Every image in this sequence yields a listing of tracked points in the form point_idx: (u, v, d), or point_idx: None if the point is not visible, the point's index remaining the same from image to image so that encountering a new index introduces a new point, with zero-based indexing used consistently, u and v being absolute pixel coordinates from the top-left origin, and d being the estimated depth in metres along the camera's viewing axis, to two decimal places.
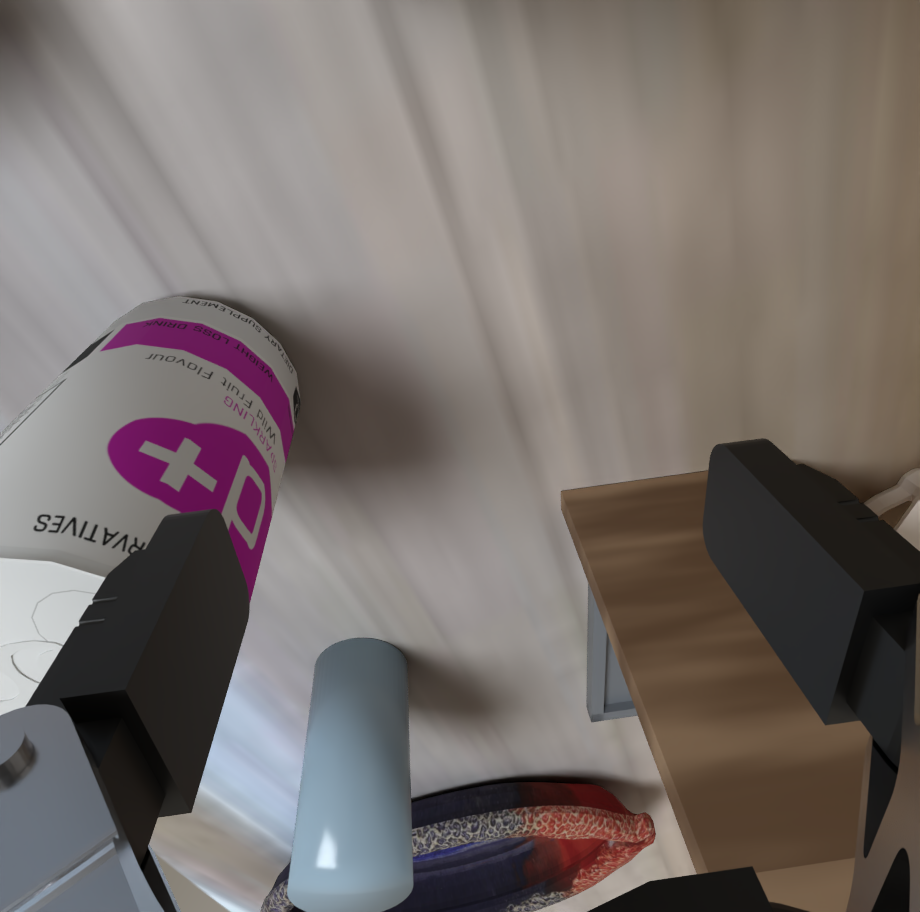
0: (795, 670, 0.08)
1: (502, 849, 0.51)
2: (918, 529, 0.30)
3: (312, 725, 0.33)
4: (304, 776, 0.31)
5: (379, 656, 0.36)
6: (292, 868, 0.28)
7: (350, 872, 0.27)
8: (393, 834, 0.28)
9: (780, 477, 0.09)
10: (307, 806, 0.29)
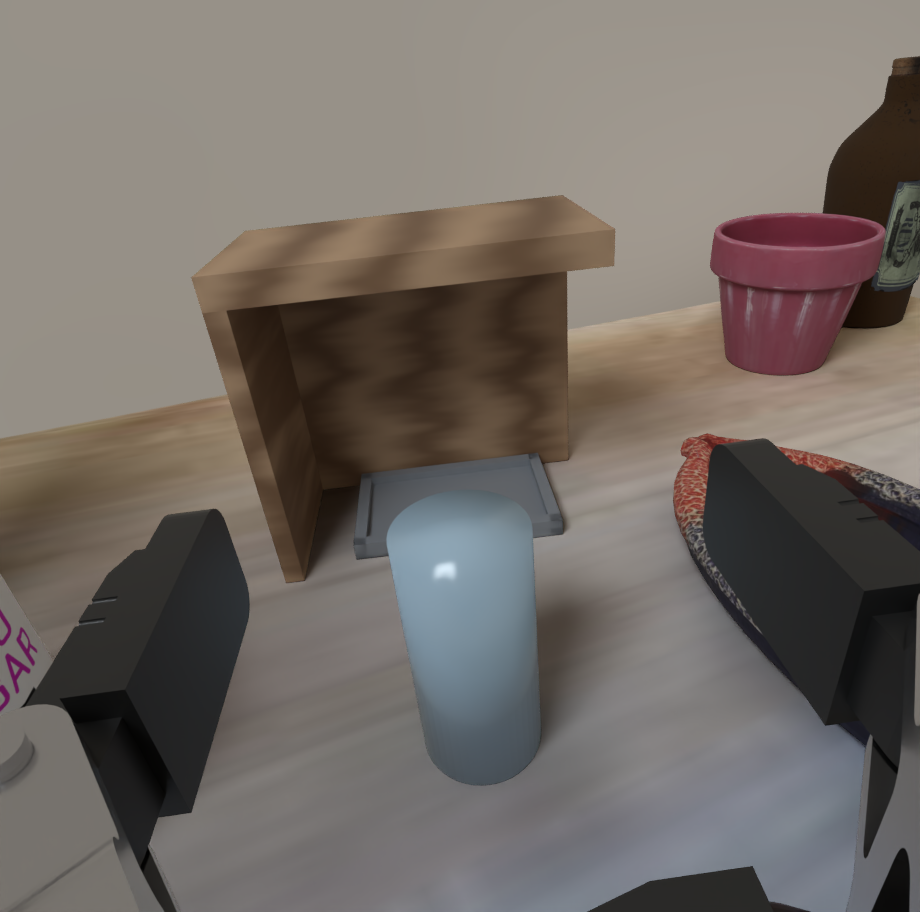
0: (795, 669, 0.08)
1: None
2: None
3: (434, 706, 0.26)
4: (432, 665, 0.24)
5: None
6: (421, 586, 0.22)
7: (418, 530, 0.24)
8: None
9: (780, 477, 0.09)
10: (412, 624, 0.24)
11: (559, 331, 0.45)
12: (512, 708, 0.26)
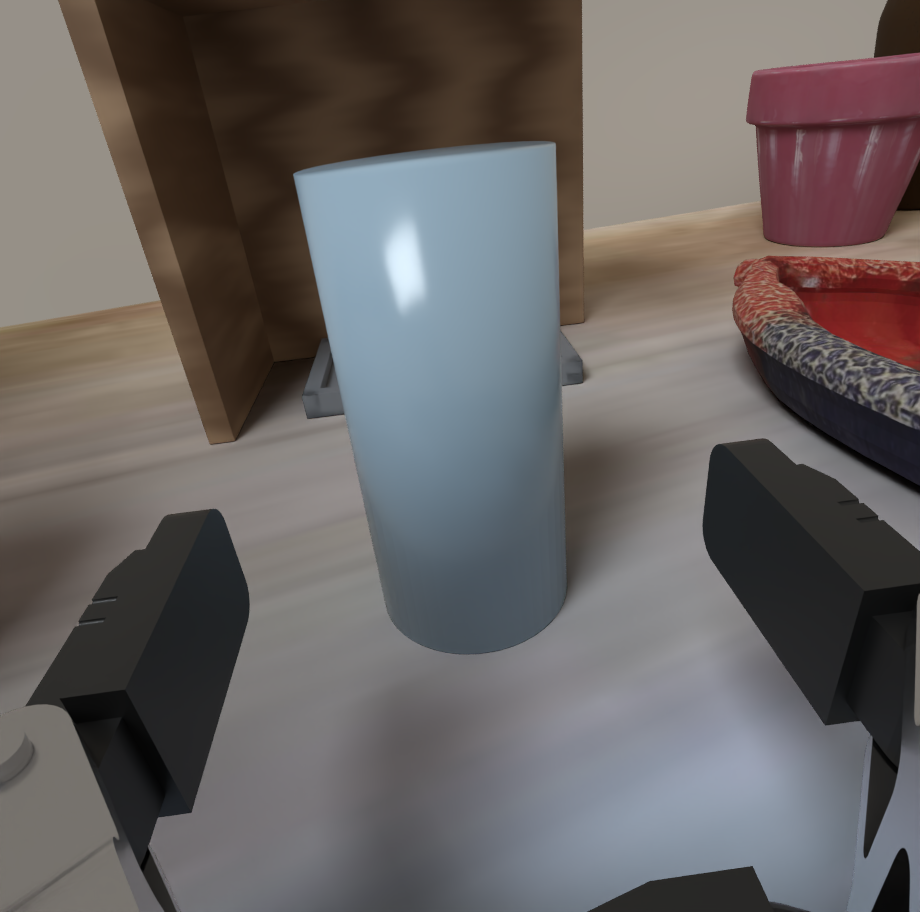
0: (794, 670, 0.08)
1: None
2: None
3: (389, 502, 0.15)
4: (380, 406, 0.14)
5: None
6: (349, 206, 0.12)
7: (353, 164, 0.14)
8: None
9: (780, 477, 0.09)
10: (342, 322, 0.13)
11: (572, 132, 0.34)
12: (523, 501, 0.15)
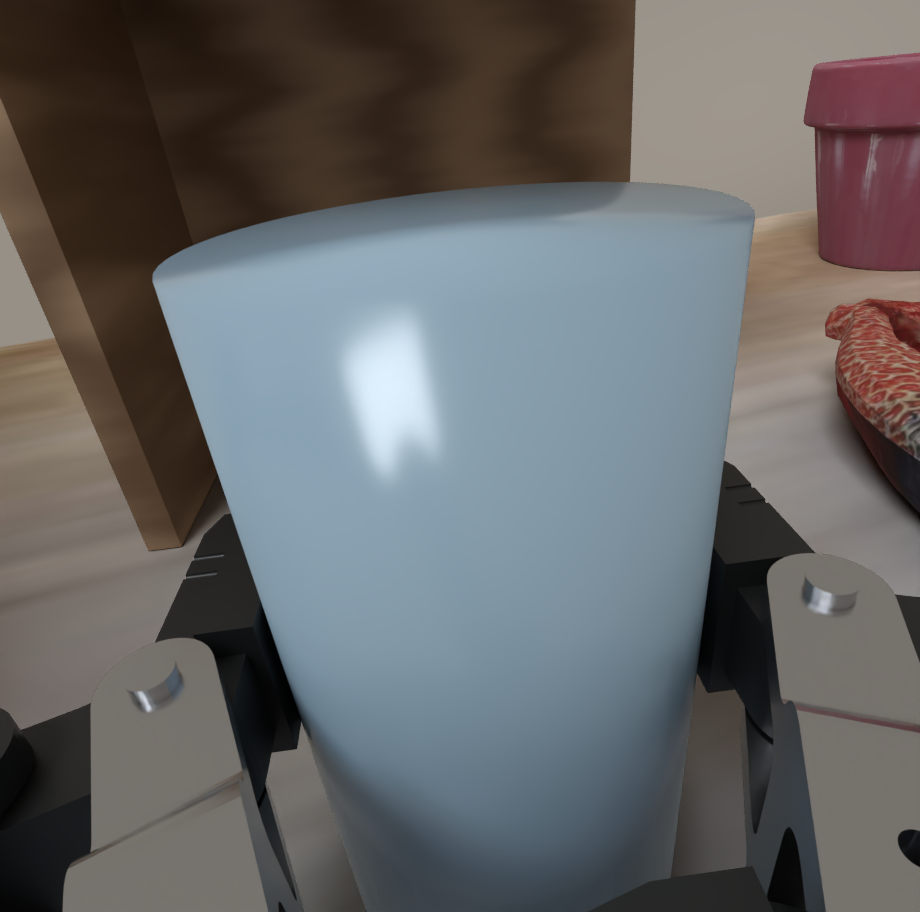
0: None
1: None
2: None
3: (374, 865, 0.08)
4: (353, 743, 0.07)
5: None
6: (261, 381, 0.04)
7: (297, 237, 0.06)
8: None
9: None
10: (268, 587, 0.06)
11: (617, 139, 0.27)
12: (629, 871, 0.08)
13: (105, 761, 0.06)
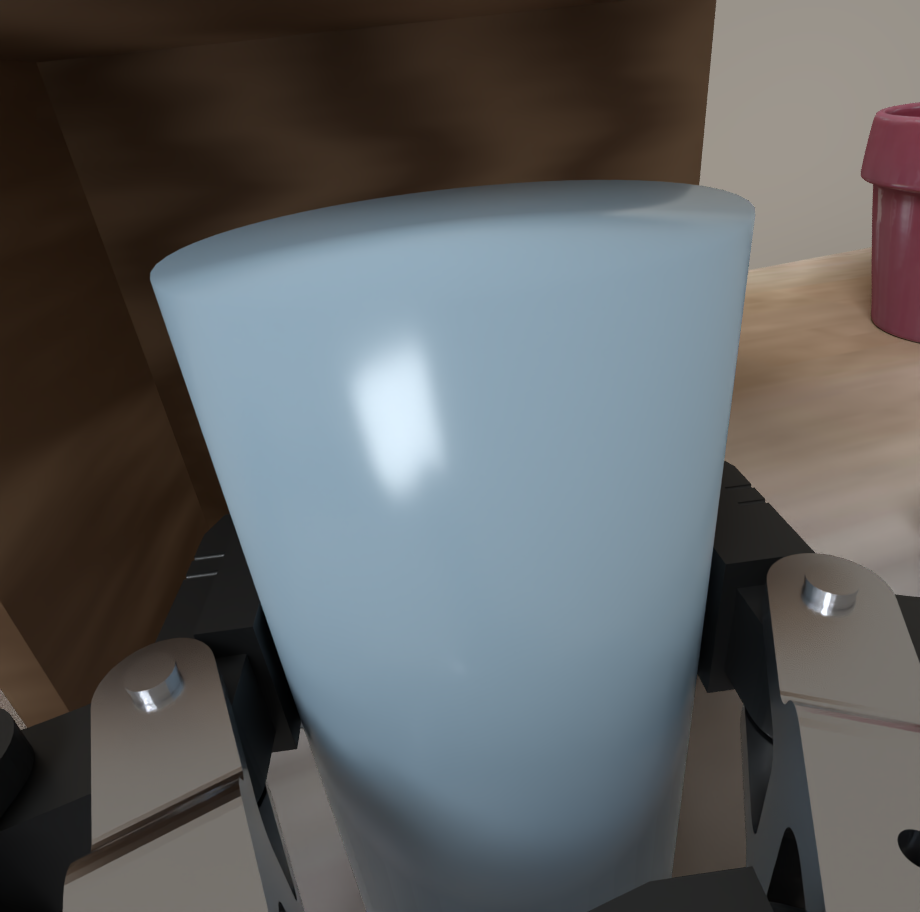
0: None
1: None
2: None
3: (375, 865, 0.08)
4: (353, 743, 0.07)
5: None
6: (259, 379, 0.04)
7: (295, 235, 0.06)
8: None
9: None
10: (268, 587, 0.06)
11: None
12: (630, 871, 0.08)
13: (105, 761, 0.06)
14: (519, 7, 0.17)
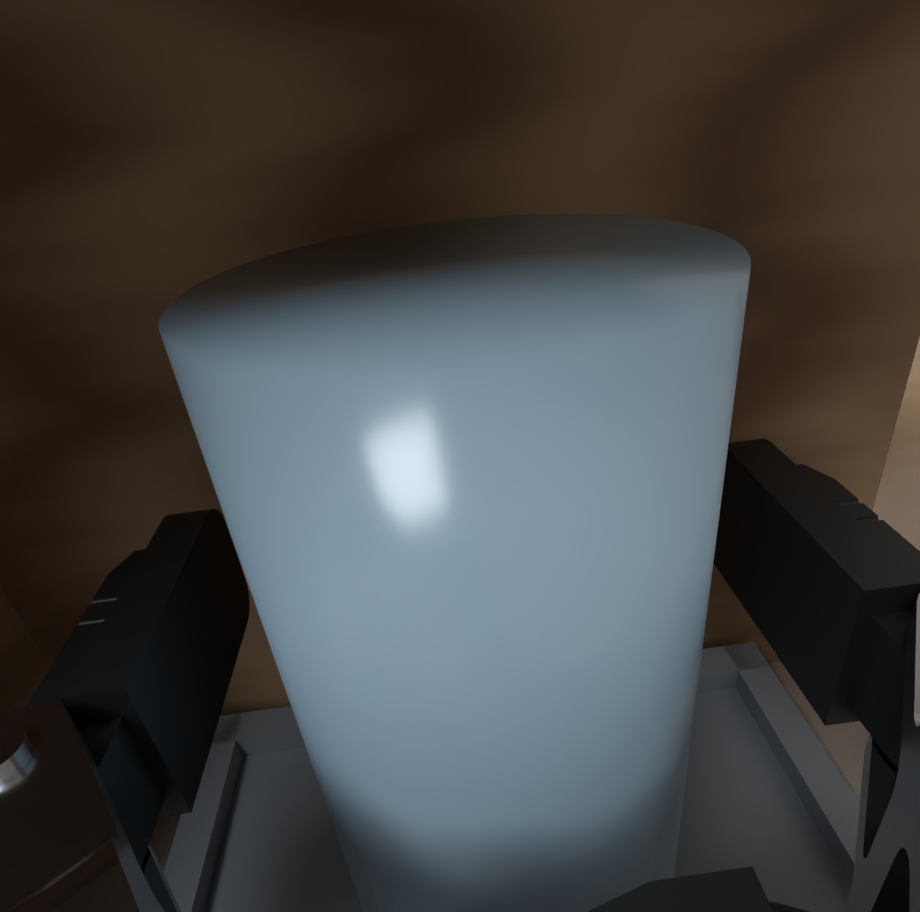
0: (795, 670, 0.08)
1: None
2: None
3: (378, 889, 0.08)
4: (357, 775, 0.07)
5: None
6: (266, 436, 0.05)
7: (299, 276, 0.07)
8: None
9: (779, 477, 0.09)
10: (274, 624, 0.06)
11: (915, 242, 0.12)
12: None
13: None
14: None
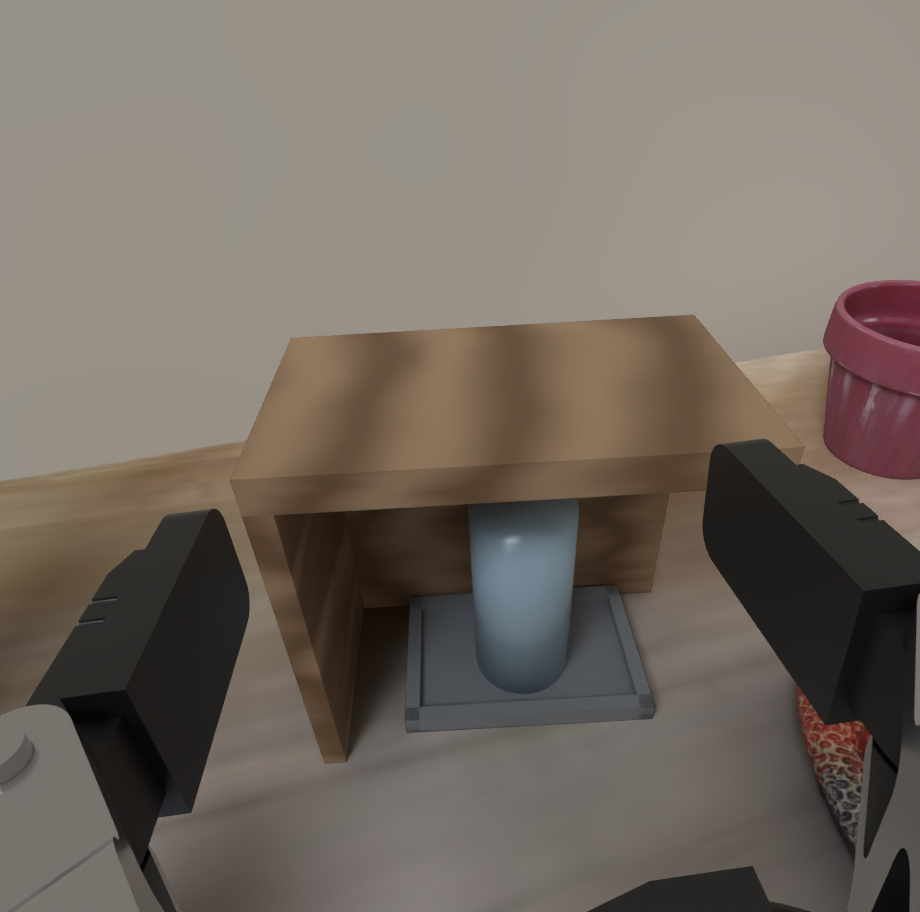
0: (795, 669, 0.08)
1: None
2: None
3: (491, 634, 0.34)
4: (495, 604, 0.33)
5: None
6: (496, 548, 0.30)
7: (491, 504, 0.32)
8: None
9: (779, 477, 0.09)
10: (483, 573, 0.32)
11: None
12: (550, 639, 0.34)
13: None
14: None
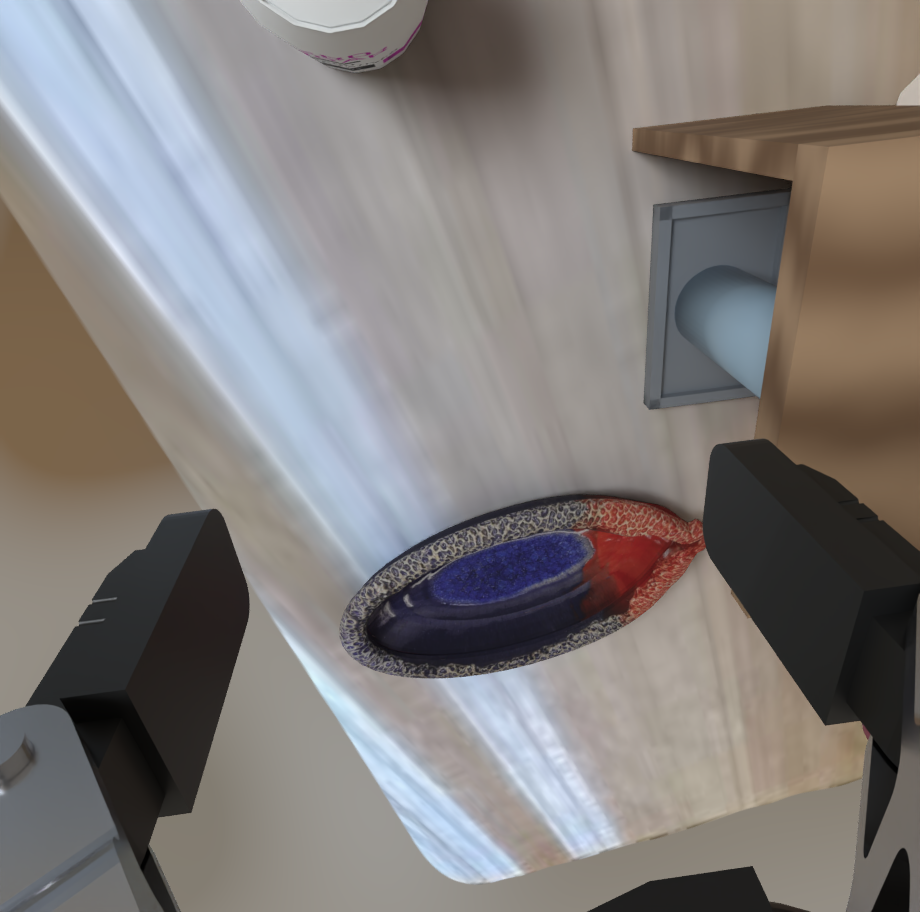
0: (794, 670, 0.08)
1: (560, 592, 0.55)
2: None
3: (718, 301, 0.38)
4: (735, 318, 0.36)
5: None
6: None
7: None
8: None
9: (780, 477, 0.09)
10: (761, 317, 0.34)
11: None
12: (705, 350, 0.40)
13: None
14: None
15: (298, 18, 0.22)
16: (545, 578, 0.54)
